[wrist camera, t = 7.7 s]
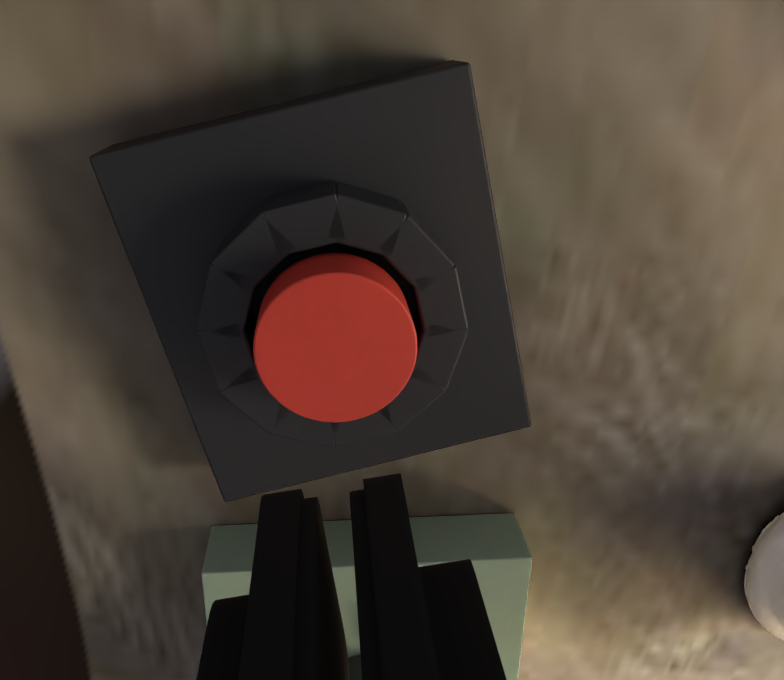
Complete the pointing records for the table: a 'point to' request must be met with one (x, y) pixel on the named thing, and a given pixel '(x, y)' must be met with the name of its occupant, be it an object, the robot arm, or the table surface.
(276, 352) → the button
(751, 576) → the cherub figurine
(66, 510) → the table surface
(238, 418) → the button box
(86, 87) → the table surface
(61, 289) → the table surface
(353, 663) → the dial
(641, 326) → the table surface
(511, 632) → the console
